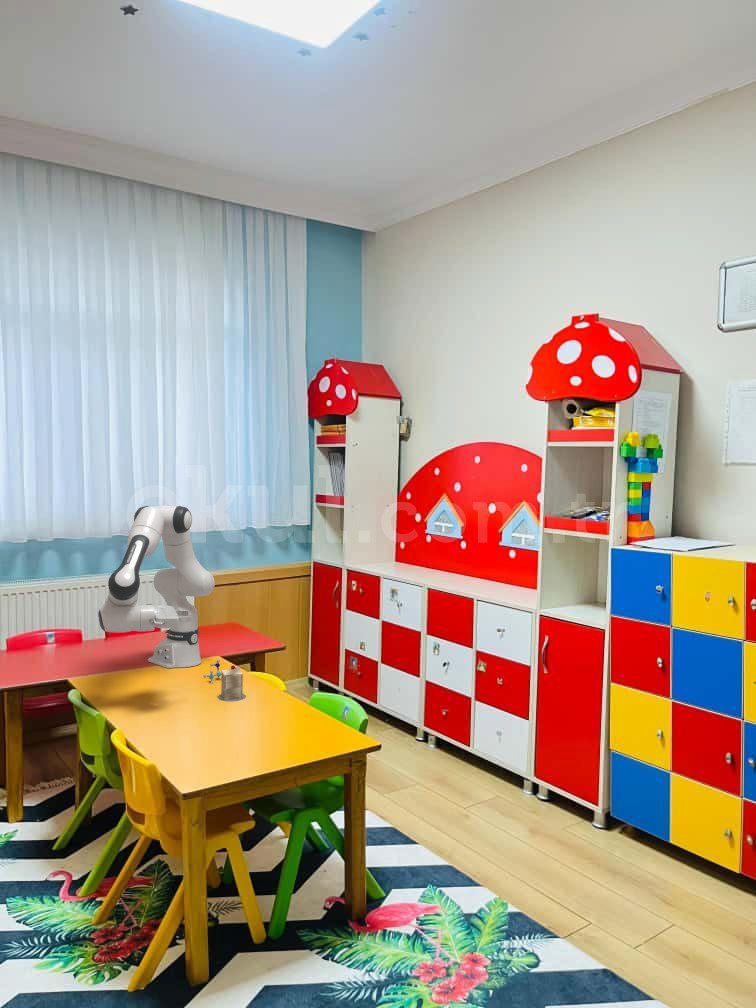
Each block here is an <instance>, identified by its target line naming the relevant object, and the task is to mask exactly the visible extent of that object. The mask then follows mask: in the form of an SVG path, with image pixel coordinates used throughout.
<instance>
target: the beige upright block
mask: <svg viewBox="0 0 756 1008" xmlns="http://www.w3.org/2000/svg"><path fill="white" fill-rule="evenodd" d="M230 669H231V668H230ZM230 669H222V670H221V671H220V672H221V676H220V677H221V678H220V679H221V681H220V683H221V685H220V689H221V691H220V693H221V694H220V695H222V697H223V699H224V700H234V699H242V694H243V693H244V692H243V689H244V688H243V682H244V681H243V680H244V679H243V678H244V676H243V675H244V673H243V672H242V671H241V668H240V669H231V670H230Z"/></svg>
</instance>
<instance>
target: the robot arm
mask: <svg viewBox="0 0 756 1008" xmlns="http://www.w3.org/2000/svg"><path fill="white" fill-rule="evenodd" d="M192 523H193V516H192V513H191V511H190V510H189V509H188V508H187V507H185V506H182V505H177V506H175V505H169V504H168V505H167V504H162V505H151V506H150V505H144V506H141V507H139V508H137V510H136V511H135V513H134V516H133V523H132V525H131V527H130V531H129V534H128V536H127V543H126V547H127V549H126V551H125V554H124V557H123V558H122V562H121V564H120V565H119V567H118V568H116V570H114V571H113V572H112V573H111V574H110V576H109V578H108V583H107V585H108V595H107V598H106V600H105V602H104V603H103V605H102V606H101V608H100V609H99V610H98V612H97V613H98V622H99V627H100V628H101V630H102V631H104V632H107V633H128V632H132V631H134V632H135V631H136V632H151V631H155V628H158V629H167V630H165V631H164V634H166V637H165V638H164V639H163V640H162V641H160V642H158V644H156V645H155V647H154V650H153V655H152V656H150V657H148V659H147V662H149V663H151V664H154V665H156V666H160V667H163V668H166V669H173V668H189V667H195V666H198V665H200V664H201V663H202V659H201V658H202V657H201V653H200V645H199V637H200V636H199V635H200V634H199V633H200V631H199V630H200V629H199V628H198V625H199V624H198V623H199V622H198V621H199V620H198V619H199V618H198V617H199V616H198V615H199V613H198V610H197V608H196V606H194V605H193V604H191V602H189V600H188V599H187V597H195V598H197V597H207V596H209V595H210V594H212V592H213V591H214V589H215V584H216V581H215V578H214V576H213V574H212V572H211V571H208V570H207V569H205V568H204V567H203V565H202V564H201V563H200V562H199V560H198V559H197V557H196V554H195V552H194V547H193V543H192V542H193V541H192V537H191V536H192V535H191V531H190V528H191V527H192ZM161 539H162V545H163V551H164V556H165V559H166V562H168V563H169V564H170V565H172V566H173V567H170V568H169V567H168V568H164V569H159V570H157V572H156V573H155V574H154V576H153V583H152V584H153V587H154V589H155V591H156V592H158V594H159V595H160V596H162V598H163V599H164V601H165V602H166V605H160V604H159V605H154V604H153V603H147V604H144V605H143V604H142V605H141V604H139V605H138V604H137V603H138V599H139V588H140V584H141V579H140V574H139V573H140V570H141V567H142V564H143V561H144V559H145V557H149V556H152V555H153V554H154V553H155V551H156V550H157V548H158V546H159V544H160V542H161ZM174 567H175V568H174Z"/></svg>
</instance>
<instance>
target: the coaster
mask: <svg viewBox="0 0 756 1008" xmlns="http://www.w3.org/2000/svg"><path fill="white" fill-rule="evenodd" d="M246 698H247V695H246V694H245V693H242V699H234V700H224V699H223V697H222V695H221V694H219V695H218V696H217V699H218V700H219V701H222V702H227V703H228V702H230V703H231V702H232V703H233V702H239V701H243V700H245V699H246Z"/></svg>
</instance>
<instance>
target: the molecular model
mask: <svg viewBox="0 0 756 1008" xmlns="http://www.w3.org/2000/svg"><path fill="white" fill-rule="evenodd" d="M215 662H216V663H212V662H211V663H210V664H209V666H210V667H214V666H215V667H216V669H217V672H216V673H215V674H214V670H213V669H210V671H209V675H207V674H205V673H204V674H203V675H202V677H203V678H204V679H205V678H209V679H210V684H213V685H214V681H213V679H214V677H216V680H219V679H221V678H220V677H221V672H222V671H220V669H219V668H220V666H221V664H220V659H219V658H218V659H216V660H215ZM231 669H240V670H241V667H239V666H237V667H236V666H235V665H231V666H230V669H229V670H231Z"/></svg>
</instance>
